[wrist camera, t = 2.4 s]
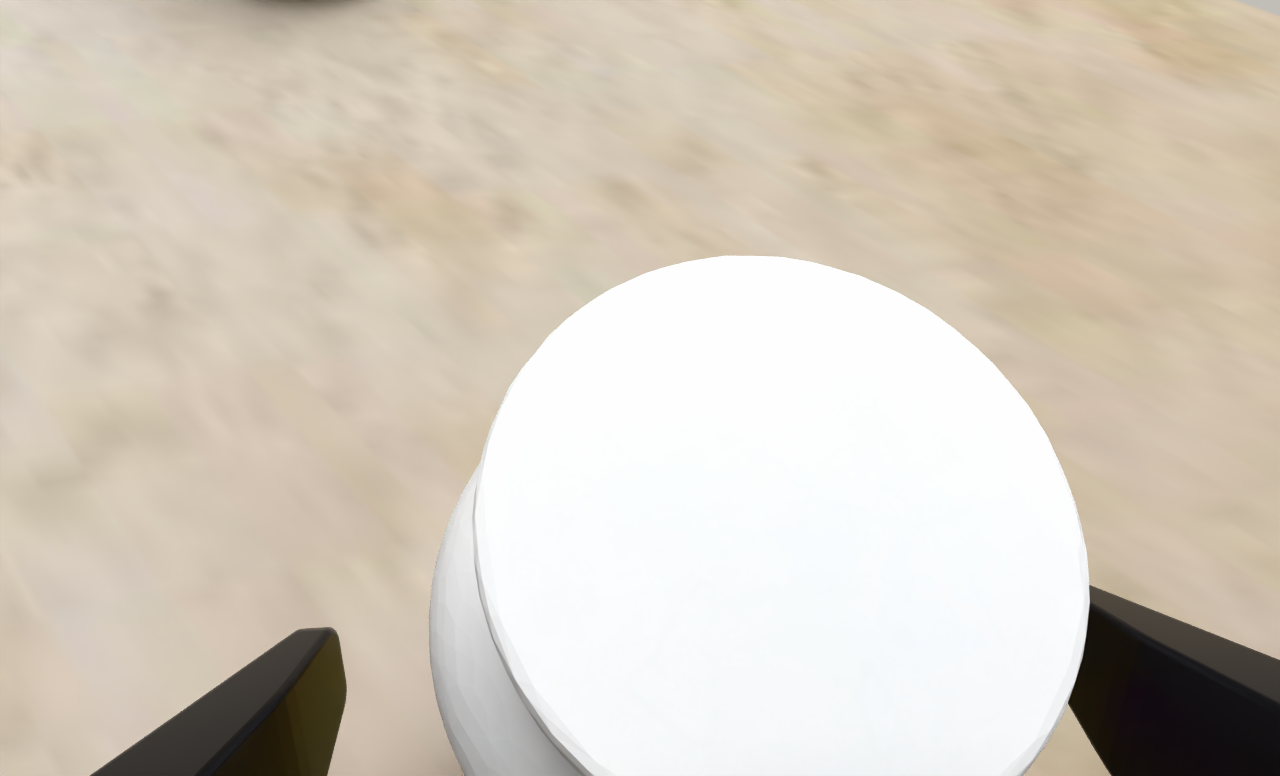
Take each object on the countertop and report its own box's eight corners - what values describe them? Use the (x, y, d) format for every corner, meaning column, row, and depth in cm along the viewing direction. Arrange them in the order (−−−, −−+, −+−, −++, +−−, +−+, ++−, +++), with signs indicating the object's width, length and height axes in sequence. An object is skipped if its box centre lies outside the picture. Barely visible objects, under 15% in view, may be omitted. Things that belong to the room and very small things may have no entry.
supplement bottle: (731, 903, 15) (1208, 1424, 3) (454, 753, 16) (85, 752, 4) (827, 604, 18) (1256, 333, 6) (590, 493, 19) (586, 82, 7)
